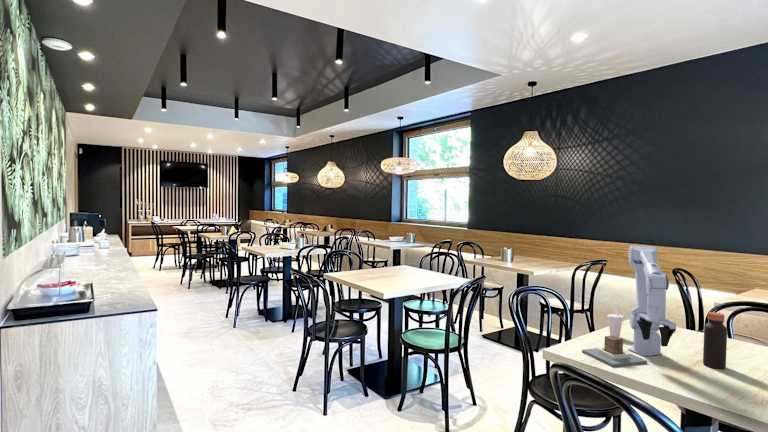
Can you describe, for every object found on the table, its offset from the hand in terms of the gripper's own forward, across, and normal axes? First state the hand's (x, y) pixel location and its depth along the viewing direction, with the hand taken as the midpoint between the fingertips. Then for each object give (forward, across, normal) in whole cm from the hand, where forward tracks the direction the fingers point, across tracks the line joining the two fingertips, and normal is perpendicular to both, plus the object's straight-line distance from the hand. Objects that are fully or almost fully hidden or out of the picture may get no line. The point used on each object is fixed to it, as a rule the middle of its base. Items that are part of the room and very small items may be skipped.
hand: (655, 342), depth 154 cm
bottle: (+10, +4, +24) cm, 26 cm away
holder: (+9, -12, -7) cm, 17 cm away
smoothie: (+10, -34, +15) cm, 38 cm away
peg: (+8, -12, -7) cm, 16 cm away
